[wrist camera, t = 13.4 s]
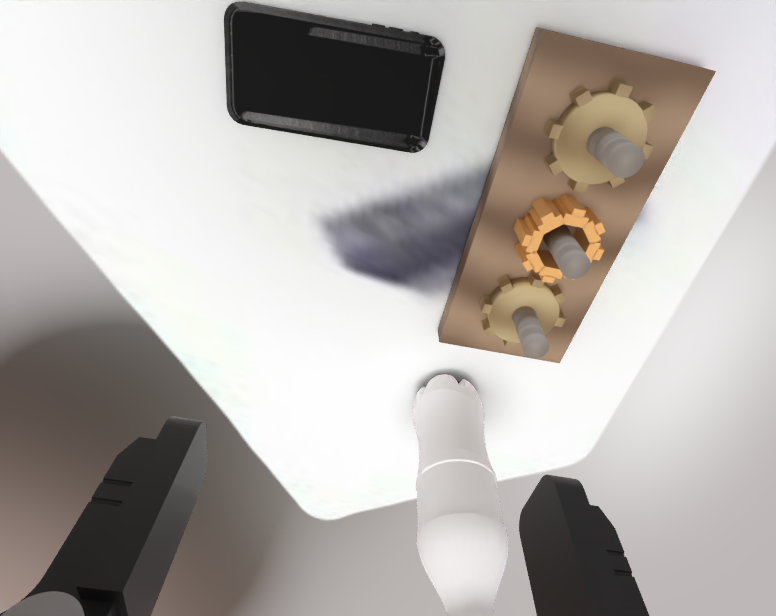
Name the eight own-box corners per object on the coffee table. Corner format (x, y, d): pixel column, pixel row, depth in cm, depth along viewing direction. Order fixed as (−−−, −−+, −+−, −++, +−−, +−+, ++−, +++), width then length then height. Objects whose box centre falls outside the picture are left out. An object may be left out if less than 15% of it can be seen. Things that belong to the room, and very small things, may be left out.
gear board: (536, 27, 32) (571, 37, 25) (700, 67, 33) (775, 87, 26) (437, 329, 46) (443, 386, 40) (554, 349, 47) (578, 408, 41)
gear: (529, 186, 36) (539, 201, 33) (606, 202, 36) (620, 218, 34) (502, 257, 39) (509, 275, 37) (573, 270, 40) (584, 289, 37)
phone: (425, 155, 36) (227, 122, 35) (424, 150, 37) (231, 118, 36) (448, 38, 32) (223, -4, 31) (447, 36, 33) (228, -4, 32)
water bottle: (400, 384, 50) (398, 659, 30) (459, 356, 48) (502, 634, 27) (434, 423, 54) (454, 695, 33) (490, 399, 51) (550, 676, 31)
